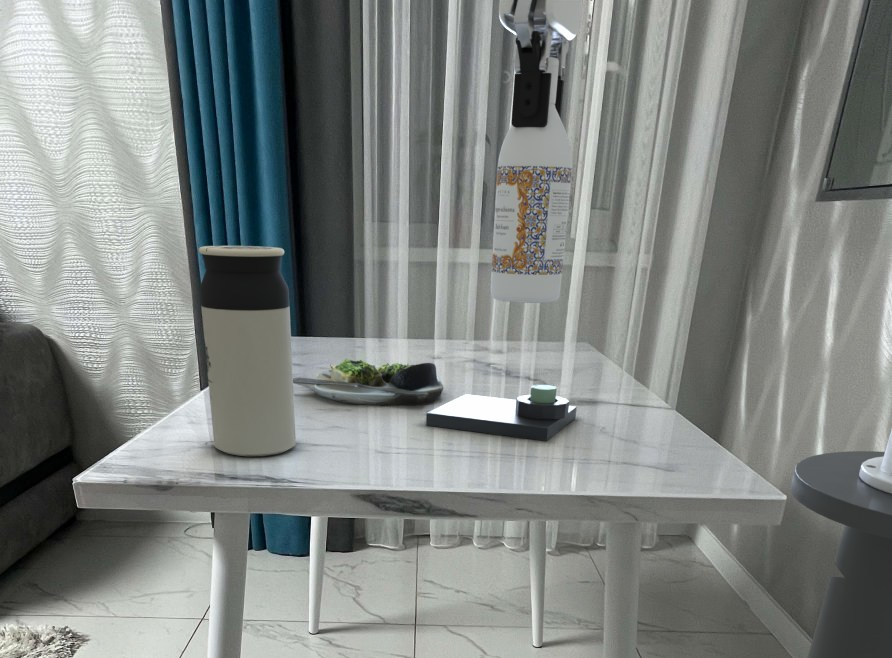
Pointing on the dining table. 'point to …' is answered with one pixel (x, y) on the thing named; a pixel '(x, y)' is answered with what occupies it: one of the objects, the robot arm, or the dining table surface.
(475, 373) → the dining table surface
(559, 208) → the bath foam
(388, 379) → the salad plate
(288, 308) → the travel mug
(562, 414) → the scale
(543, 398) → the button
